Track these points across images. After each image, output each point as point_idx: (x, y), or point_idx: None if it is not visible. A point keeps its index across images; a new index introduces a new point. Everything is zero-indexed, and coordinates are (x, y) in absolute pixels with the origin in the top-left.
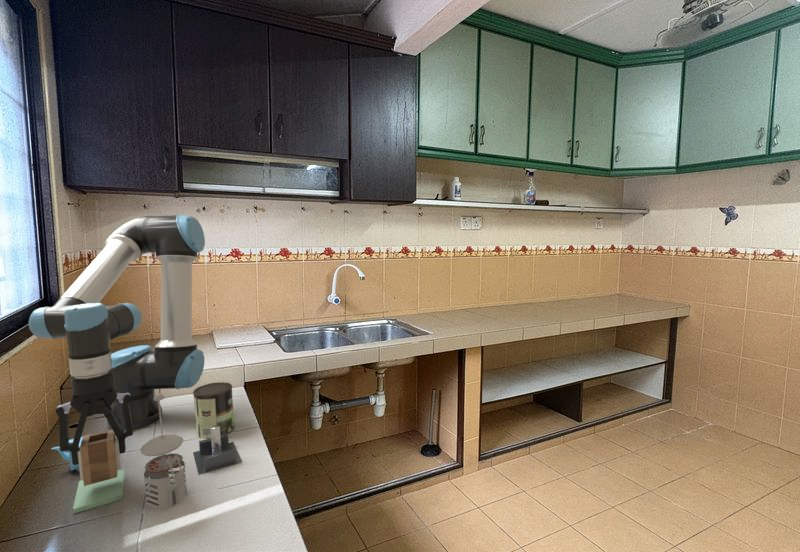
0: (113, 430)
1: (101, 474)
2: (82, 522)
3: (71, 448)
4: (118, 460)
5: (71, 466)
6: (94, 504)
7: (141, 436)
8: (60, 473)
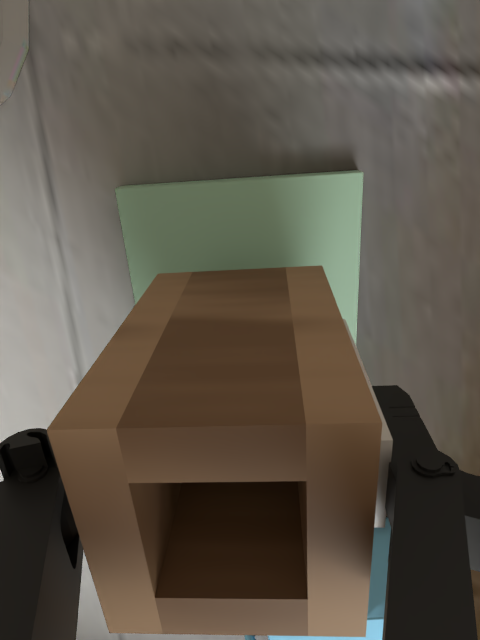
0: (38, 567)
1: (228, 286)
2: (309, 50)
3: (456, 476)
4: None
5: (390, 533)
6: (268, 177)
7: (164, 635)
8: None
